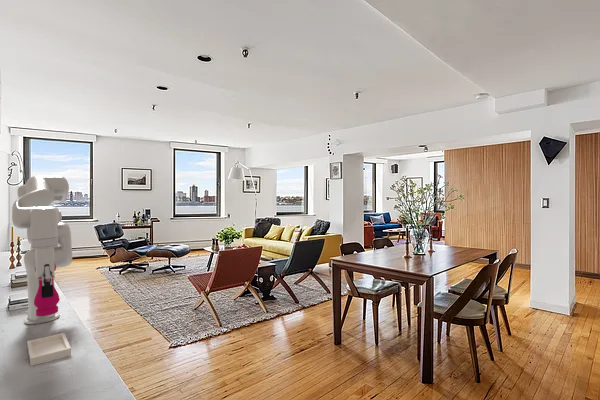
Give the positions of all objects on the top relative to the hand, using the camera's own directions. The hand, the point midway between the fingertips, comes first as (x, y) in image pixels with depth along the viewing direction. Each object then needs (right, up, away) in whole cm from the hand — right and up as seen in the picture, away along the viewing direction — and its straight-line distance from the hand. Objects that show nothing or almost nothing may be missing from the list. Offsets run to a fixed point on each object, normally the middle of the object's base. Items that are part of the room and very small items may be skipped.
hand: (46, 294), depth 122 cm
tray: (+1, -20, 0) cm, 20 cm away
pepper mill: (0, -7, 0) cm, 7 cm away
